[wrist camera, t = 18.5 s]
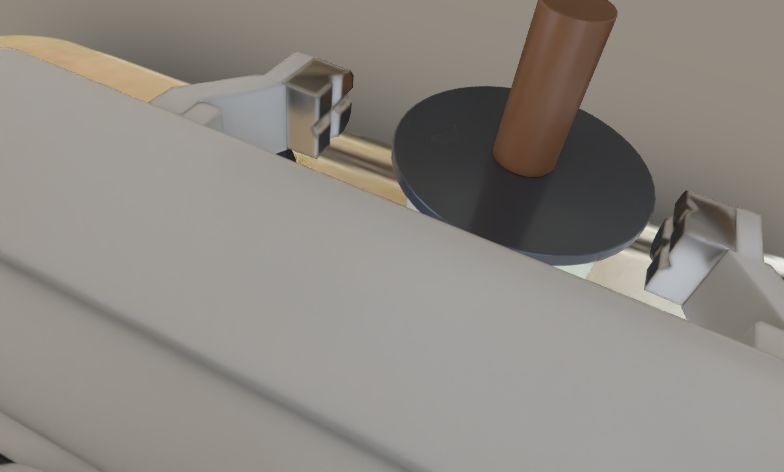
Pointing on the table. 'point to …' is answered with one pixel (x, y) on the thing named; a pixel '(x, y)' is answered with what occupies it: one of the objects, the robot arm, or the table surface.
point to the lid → (531, 150)
